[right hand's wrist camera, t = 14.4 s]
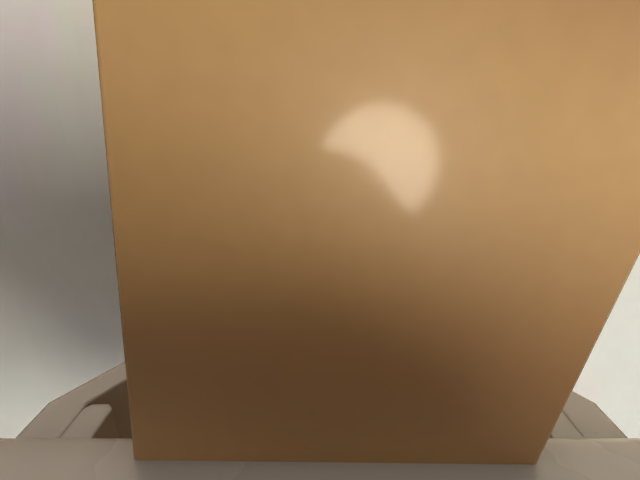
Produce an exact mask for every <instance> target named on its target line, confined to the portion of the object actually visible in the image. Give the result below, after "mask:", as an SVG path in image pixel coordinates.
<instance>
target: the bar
mask: <svg viewBox="0 0 640 480" xmlns="http://www.w3.org/2000/svg"><path fill="white" fill-rule="evenodd" d="M93 11H94V22H95V33H96V45H97V56H98V67H99V78H100V89H101V100H102V111H103V122H104V133H105V144H106V155H107V167H108V178H109V189H110V200H111V211H112V222H113V233H114V244H115V255H116V266H117V277H118V289H119V300H120V311H121V322H122V333H123V344H124V355H125V366H126V377H127V388H128V399H129V411H130V422H131V433H132V444H133V455H134V459H135V460H167V461H256V462H346V463H435V464H525V465H534V464H536V463H537V461H538V459H539V457H540V455H541V453H542V451H543V449H544V447H545V445H546V443H547V441H548V439H549V437H550V435H551V433H552V431H553V428H554V426H555V424H556V422H557V420H558V418H559V416H560V414H561V412H562V410H563V408H564V406H565V404H566V402H567V400H568V398H569V396H570V394H571V392H572V390H573V388H574V386H575V384H576V382H577V380H578V378H579V376H580V374H581V372H582V370H583V368H584V365H585V363H586V361H587V359H588V357H589V355H590V353H591V351H592V349H593V347H594V345H595V343H596V341H597V339H598V337H599V335H600V333H601V331H602V329H603V327H604V325H605V323H606V321H607V319H608V317H609V315H610V313H611V311H612V309H613V307H614V305H615V302H616V300H617V298H618V296H619V294H620V292H621V290H622V288H623V286H624V284H625V282H626V280H627V278H628V276H629V274H630V272H631V270H632V268H633V266H634V264H635V262H636V260H637V258H638V256H639V254H640V0H93Z"/></svg>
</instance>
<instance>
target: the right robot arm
mask: <svg viewBox="0 0 640 480" xmlns="http://www.w3.org/2000/svg"><path fill="white" fill-rule="evenodd" d="M0 480H640V438H627V437H626V436H625V434H624V433H623V432H622V431H621V430H620V429H619V428H618V427H617V426H616V425H615V424H614V423H613V422H612V421H611V420H610V419H609V418H608V417H607V416H606V415H605V413H604V412H603V411H602V410H601V409H600V408H599V407H598V406H597V405H596V404H595V403H593V402H591V401H589V400H588V399H586V398H584V397H582V396H580V395H578V394H576V393H575V392H573V391H572V392H571V394H570V396H569V398H568V400H567V402H566V404H565V406H564V408H563V410H562V412H561V414H560V416H559V418H558V420H557V422H556V424H555V426H554V428H553V431H552V433H551V435H550V437H549V439H548V441H547V443H546V445H545V447H544V449H543V451H542V453H541V455H540V457H539V459H538V461H537V463H536V464H534V465H525V464H435V463H346V462H256V461H167V460H135V459H134V455H133V444H132V433H131V422H130V411H129V399H128V388H127V377H126V366H125V362H124V363H122V364H120V365H118V366H117V367H115V368H113V369H111V370H109V371H107V372H105V373H104V374H102V375H100V376H98V377H96V378H94V379H92V380H91V381H89V382H87V383H85V384H83V385H81V386H79V387H78V388H76V389H74V390H72V391H70V392H68V393H66V394H65V395H63V396H61V397H59V398H57V399H55V400H53V401H52V402H50V403H48V404H47V405H46V407H45V408H44V409H43V410H42V411H41V412H40V413H39V414H38V415H37V416H36V417H35V418H34V419H33V420H32V421H31V422H30V423H29V424H28V426H27V427H26V428H25V429H24V430H23V431H22V432H21V433H20V434H19V435H18V436H17V437H16V438H0Z"/></svg>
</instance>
